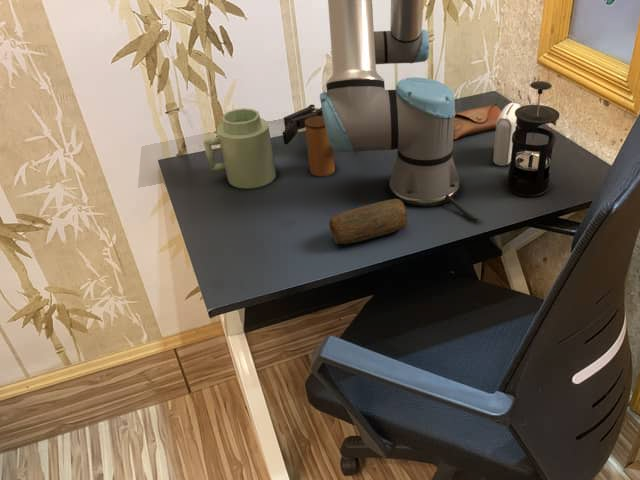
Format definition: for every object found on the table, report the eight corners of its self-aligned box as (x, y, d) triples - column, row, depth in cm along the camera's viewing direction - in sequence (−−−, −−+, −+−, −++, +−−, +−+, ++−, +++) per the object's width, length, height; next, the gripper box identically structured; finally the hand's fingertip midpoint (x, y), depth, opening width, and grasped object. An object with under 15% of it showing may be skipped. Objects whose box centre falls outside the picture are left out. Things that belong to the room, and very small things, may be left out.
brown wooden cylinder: (394, 217, 128) (393, 188, 124) (410, 234, 123) (410, 205, 119) (326, 236, 123) (323, 207, 118) (340, 255, 118) (338, 225, 114)
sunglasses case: (454, 139, 154) (448, 112, 152) (441, 143, 160) (435, 117, 159) (514, 124, 160) (508, 98, 158) (499, 129, 166) (494, 103, 165)
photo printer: (502, 146, 152) (507, 96, 144) (519, 149, 151) (525, 99, 143) (490, 164, 145) (494, 114, 137) (508, 167, 143) (513, 116, 135)
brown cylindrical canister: (336, 174, 142) (332, 124, 134) (312, 177, 141) (306, 128, 133) (332, 163, 146) (327, 114, 138) (308, 166, 145) (302, 117, 137)
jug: (279, 184, 139) (269, 123, 129) (213, 194, 136) (199, 131, 127) (273, 162, 147) (263, 102, 138) (211, 170, 144) (197, 110, 135)
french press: (558, 194, 134) (576, 89, 119) (520, 202, 132) (533, 96, 117) (531, 169, 143) (545, 69, 128) (495, 177, 140) (504, 75, 125)
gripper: (394, 123, 151) (369, 163, 135) (298, 113, 156) (263, 151, 140) (393, 93, 146) (367, 131, 131) (294, 84, 151) (258, 120, 135)
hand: (313, 141), depth 135 cm, fingers open, 13 cm apart
